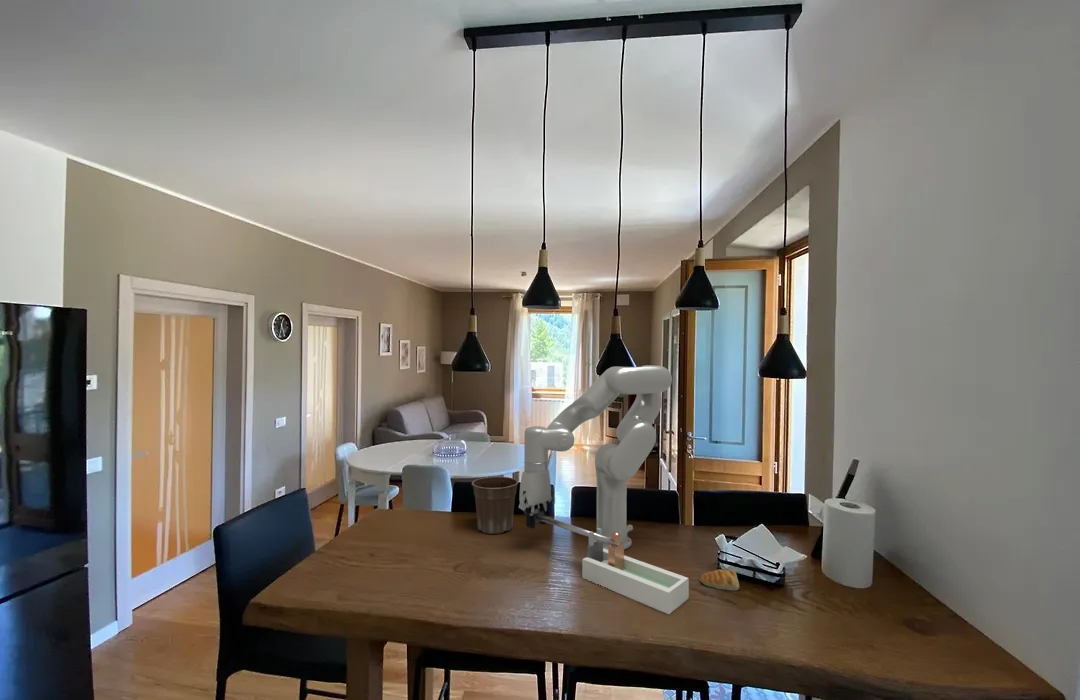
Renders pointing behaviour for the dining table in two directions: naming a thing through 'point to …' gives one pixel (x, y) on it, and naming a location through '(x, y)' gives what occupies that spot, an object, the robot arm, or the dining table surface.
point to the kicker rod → (613, 550)
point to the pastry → (721, 579)
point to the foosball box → (635, 579)
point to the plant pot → (494, 503)
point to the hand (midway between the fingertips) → (535, 524)
